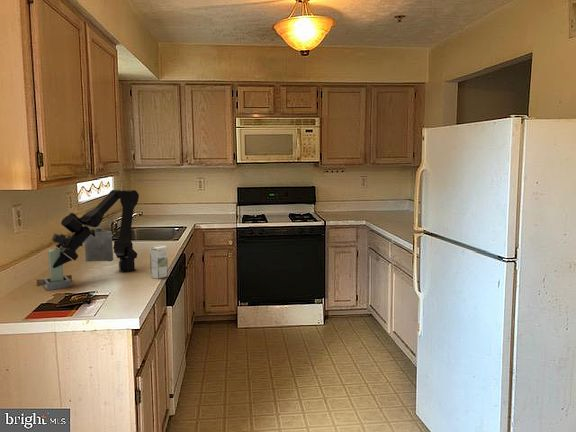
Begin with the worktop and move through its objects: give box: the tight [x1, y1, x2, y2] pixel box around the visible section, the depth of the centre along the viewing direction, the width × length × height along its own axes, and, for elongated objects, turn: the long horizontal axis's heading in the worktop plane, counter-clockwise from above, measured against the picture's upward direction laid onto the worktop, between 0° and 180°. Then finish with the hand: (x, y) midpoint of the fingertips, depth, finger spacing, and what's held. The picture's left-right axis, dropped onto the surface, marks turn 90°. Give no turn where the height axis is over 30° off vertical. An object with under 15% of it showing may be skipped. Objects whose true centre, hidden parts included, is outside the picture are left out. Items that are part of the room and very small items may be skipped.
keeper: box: [43, 275, 71, 291], centre depth 207 cm, size 9×9×3 cm
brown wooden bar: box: [36, 274, 73, 287], centre depth 213 cm, size 14×2×2 cm, turn 125°
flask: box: [84, 226, 114, 262], centre depth 257 cm, size 4×14×18 cm, turn 93°
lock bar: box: [47, 248, 64, 282], centre depth 206 cm, size 4×4×14 cm
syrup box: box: [149, 244, 169, 280], centre depth 221 cm, size 6×6×14 cm
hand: (52, 266), depth 205 cm, fingers closed on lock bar, 4 cm apart
